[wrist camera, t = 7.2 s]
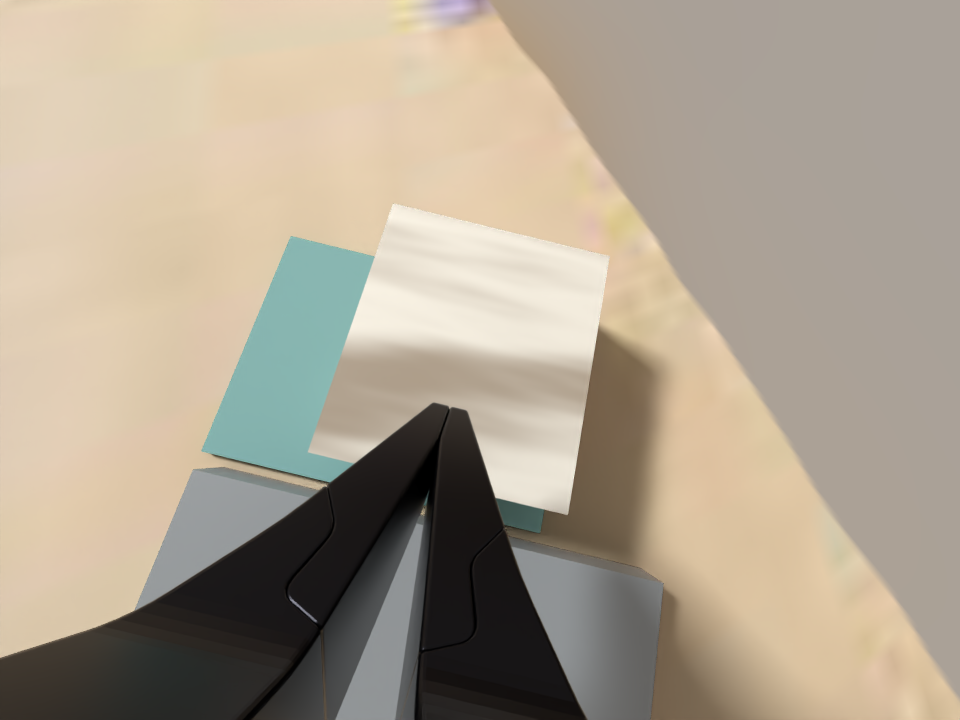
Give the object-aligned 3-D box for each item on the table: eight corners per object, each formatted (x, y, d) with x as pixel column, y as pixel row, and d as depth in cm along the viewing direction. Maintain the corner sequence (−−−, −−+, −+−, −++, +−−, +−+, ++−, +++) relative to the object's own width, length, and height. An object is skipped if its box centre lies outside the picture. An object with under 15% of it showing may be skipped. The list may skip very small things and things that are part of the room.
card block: (567, 515, 12) (609, 256, 15) (307, 452, 12) (393, 203, 15) (536, 496, 17) (571, 304, 19) (350, 451, 17) (409, 264, 19)
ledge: (613, 807, 15) (636, 861, 13) (133, 692, 15) (84, 730, 13) (639, 567, 17) (663, 583, 15) (223, 467, 17) (193, 469, 15)
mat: (538, 531, 17) (540, 533, 17) (207, 451, 17) (201, 451, 17) (577, 309, 20) (580, 307, 19) (294, 240, 20) (290, 236, 19)
